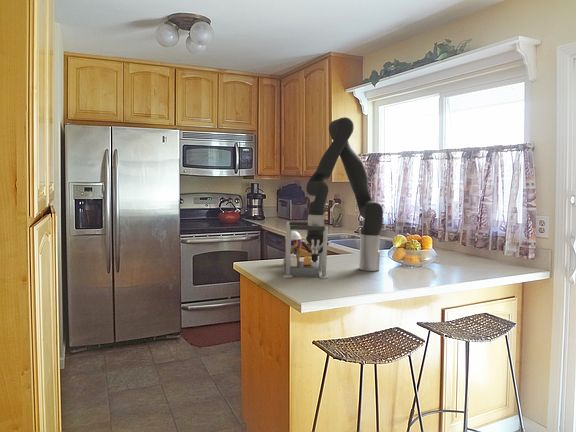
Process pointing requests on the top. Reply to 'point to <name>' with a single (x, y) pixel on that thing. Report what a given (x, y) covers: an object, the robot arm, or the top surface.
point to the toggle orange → (307, 260)
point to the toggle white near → (293, 262)
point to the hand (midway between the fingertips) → (314, 261)
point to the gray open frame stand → (321, 255)
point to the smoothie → (295, 244)
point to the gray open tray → (302, 269)
